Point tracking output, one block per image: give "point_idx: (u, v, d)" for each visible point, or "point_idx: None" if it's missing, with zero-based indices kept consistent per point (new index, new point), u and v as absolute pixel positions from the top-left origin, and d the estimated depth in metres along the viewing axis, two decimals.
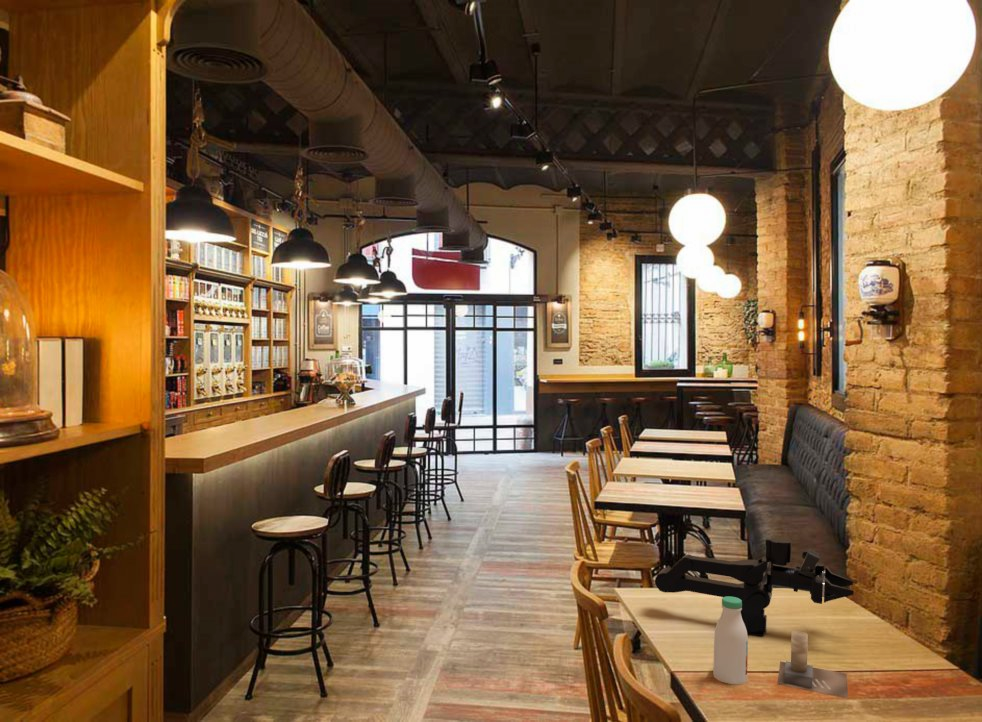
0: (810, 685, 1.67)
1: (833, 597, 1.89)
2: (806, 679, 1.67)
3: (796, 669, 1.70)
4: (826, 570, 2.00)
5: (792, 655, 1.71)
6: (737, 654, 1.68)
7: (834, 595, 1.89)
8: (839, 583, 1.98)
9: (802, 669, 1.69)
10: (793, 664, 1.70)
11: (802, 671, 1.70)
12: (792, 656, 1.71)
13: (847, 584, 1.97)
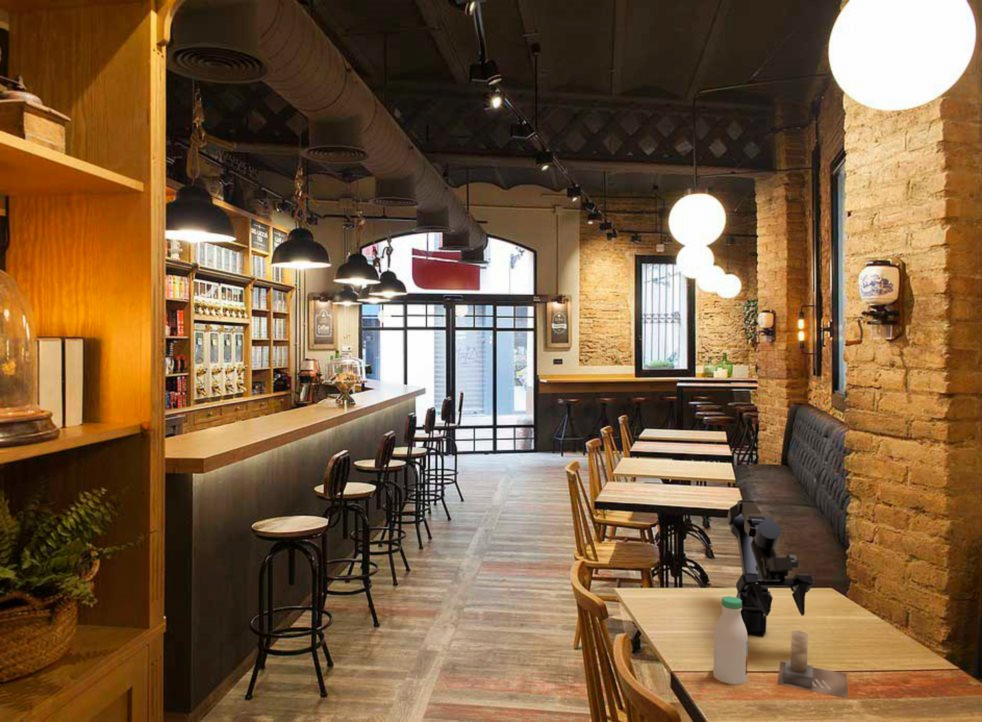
0: (810, 685, 1.67)
1: (753, 600, 1.83)
2: (806, 679, 1.67)
3: (796, 669, 1.70)
4: (799, 585, 1.83)
5: (792, 655, 1.71)
6: (737, 654, 1.68)
7: (755, 600, 1.83)
8: (797, 603, 1.82)
9: (802, 669, 1.69)
10: (793, 664, 1.70)
11: (802, 671, 1.70)
12: (792, 656, 1.71)
13: (799, 611, 1.81)
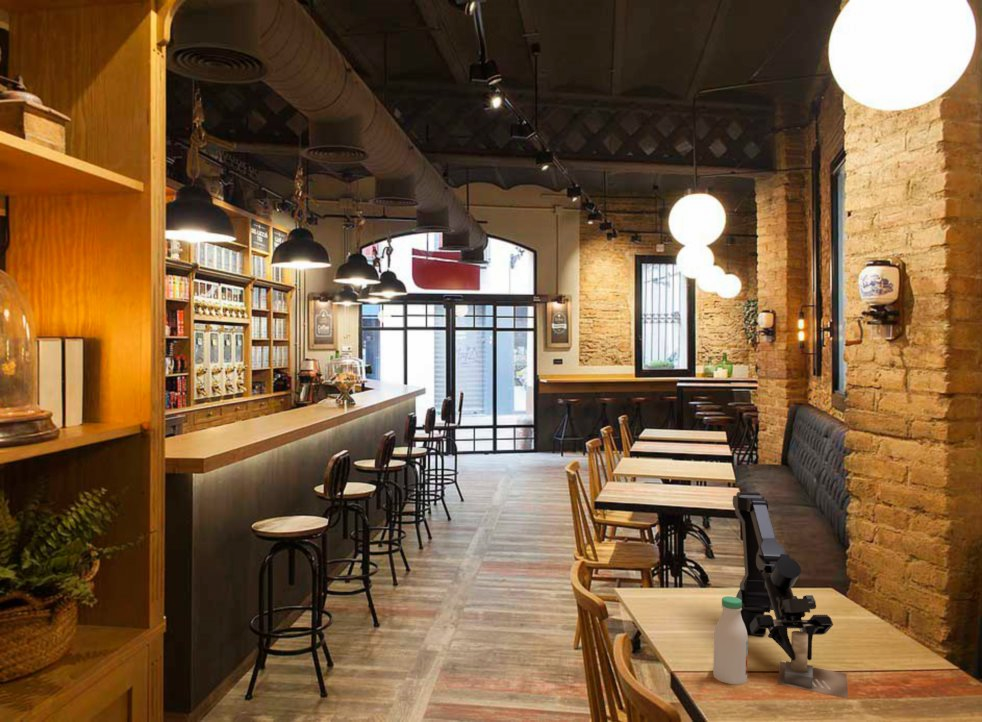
0: (810, 685, 1.67)
1: (778, 643, 1.74)
2: (806, 679, 1.67)
3: (796, 669, 1.70)
4: (806, 628, 1.73)
5: None
6: (737, 654, 1.68)
7: (780, 643, 1.74)
8: None
9: (802, 669, 1.69)
10: (794, 664, 1.70)
11: (802, 671, 1.70)
12: None
13: None
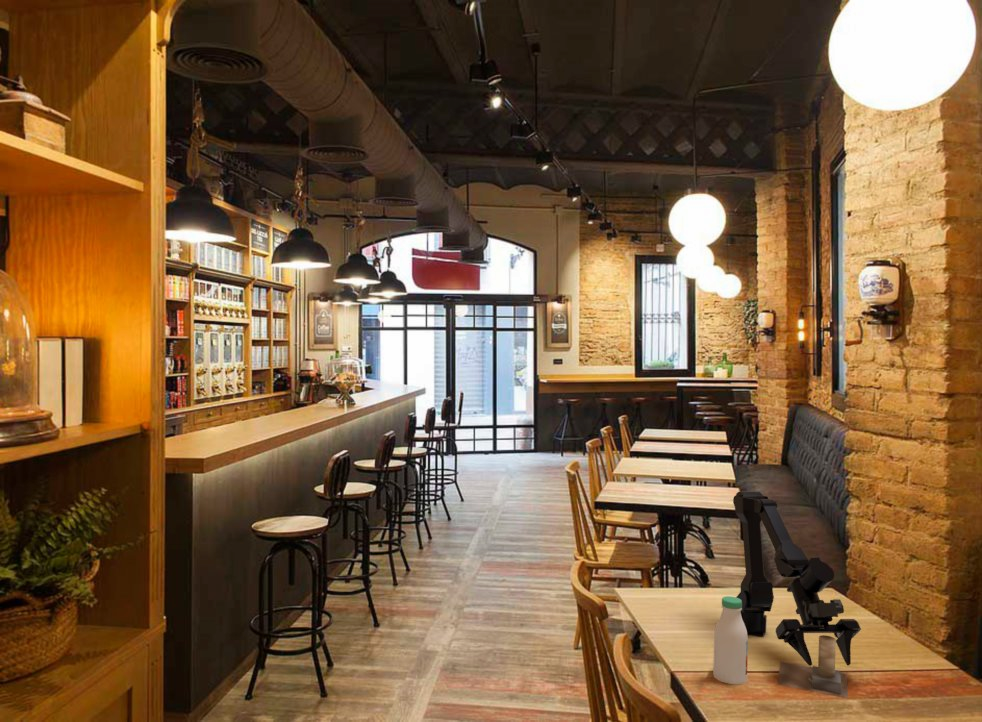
0: (838, 690, 1.65)
1: (795, 647, 1.71)
2: (835, 684, 1.65)
3: (824, 674, 1.67)
4: (844, 632, 1.71)
5: (820, 660, 1.68)
6: (737, 654, 1.68)
7: (797, 647, 1.71)
8: (842, 651, 1.70)
9: (830, 674, 1.67)
10: (821, 669, 1.68)
11: (830, 676, 1.67)
12: (820, 661, 1.68)
13: (845, 660, 1.69)
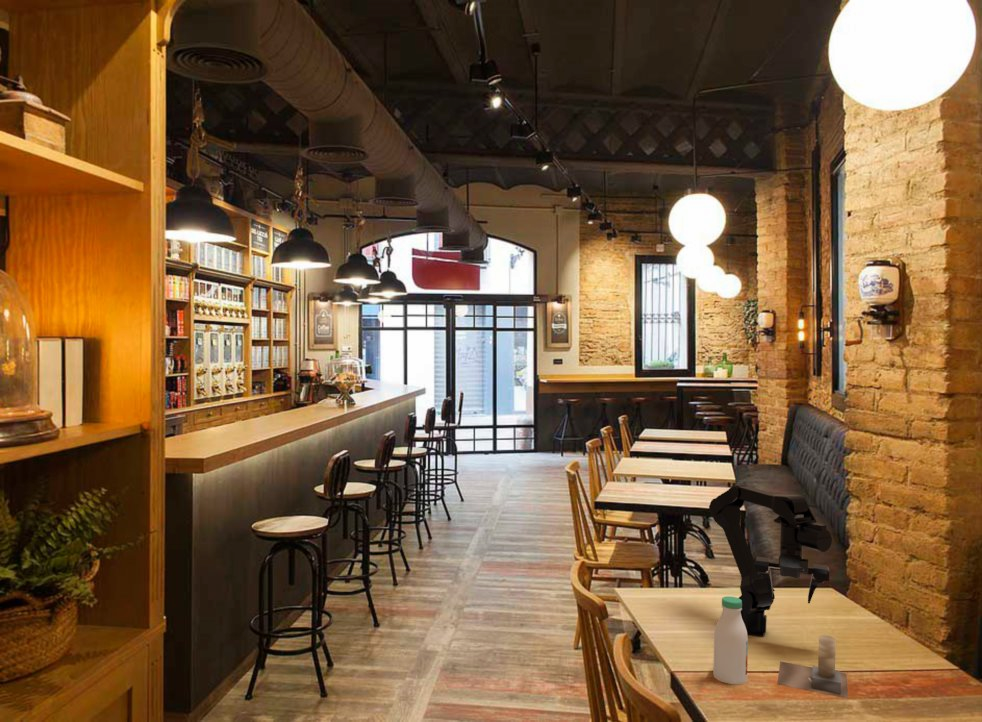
0: (838, 690, 1.65)
1: None
2: (835, 684, 1.65)
3: (824, 674, 1.67)
4: (811, 580, 1.88)
5: (820, 660, 1.68)
6: (737, 654, 1.68)
7: None
8: (809, 589, 1.91)
9: (830, 674, 1.67)
10: (821, 669, 1.68)
11: (830, 676, 1.67)
12: (820, 661, 1.68)
13: None
